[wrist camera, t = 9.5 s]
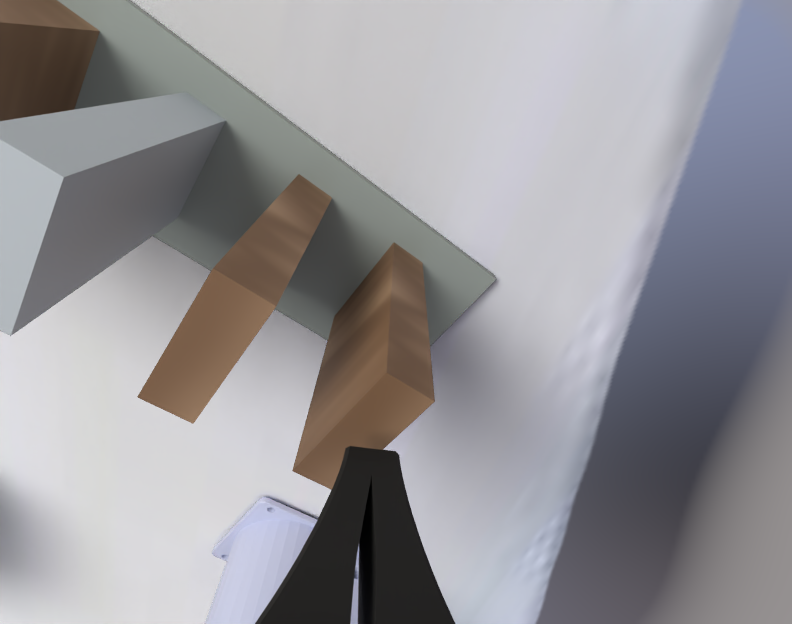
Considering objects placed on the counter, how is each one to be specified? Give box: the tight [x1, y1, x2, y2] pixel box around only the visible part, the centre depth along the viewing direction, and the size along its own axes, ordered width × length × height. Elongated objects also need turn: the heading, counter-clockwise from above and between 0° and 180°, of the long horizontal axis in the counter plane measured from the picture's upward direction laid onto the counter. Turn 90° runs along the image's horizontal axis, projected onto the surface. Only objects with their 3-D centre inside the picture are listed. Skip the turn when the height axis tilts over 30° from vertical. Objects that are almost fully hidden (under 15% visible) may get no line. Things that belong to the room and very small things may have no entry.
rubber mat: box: [57, 0, 496, 346], centre depth 17 cm, size 28×8×1 cm, turn 53°
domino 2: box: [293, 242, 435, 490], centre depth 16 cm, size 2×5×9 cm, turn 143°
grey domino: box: [0, 92, 226, 336], centre depth 13 cm, size 2×5×9 cm, turn 143°
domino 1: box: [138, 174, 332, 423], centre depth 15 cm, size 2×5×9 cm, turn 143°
